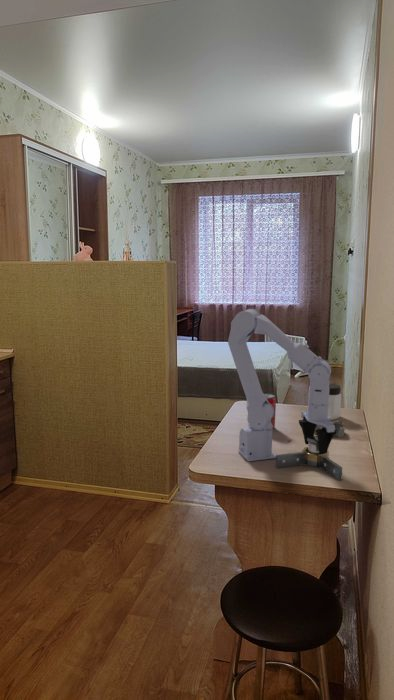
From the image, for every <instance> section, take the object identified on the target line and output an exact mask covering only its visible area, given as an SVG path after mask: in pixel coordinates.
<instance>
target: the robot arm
mask: <svg viewBox="0 0 394 700" xmlns="http://www.w3.org/2000/svg"><path fill="white" fill-rule="evenodd" d="M253 333H254V334H258V335H265V336H266V337H267V338H269V339H270V340H272V342H274V343H276V345H278V346H279V347H281V348H282V349H283V350H284V351H286V353H287V358H288V359H289V360H290V361H291V362H292V363H293V364H294V365H296V366H297V367H298V368H299V369H300V370H302V371H303V372H304V373H307V376H308V379H309V387H308V397H307V398H308V399H307V410H301V414H300V416H301V418H302V419H299V420H298V424H299V425H300V428H301V430H302V434H303V439H304V443H305V445H308V444H309V442H308V441H307V437H309V436H315V435H316V434H317V435H316V436H317V437H318V446H319V453H320V454H323V453H327V451H329V447H330V444H331V443H332V440H333V438H334V437H335V436H336V435H335V434H336V430H335V425H333V424H332V423H331V422H332V421H331V417H329V416H328V405H329V384H331V383H330V378H331V373H332V368H331V365H330V363H328V361H327V360H325V359H322V357H321V356H320V355H319V356H317V355H316V354H315V353H314V352H313V351H312V350H311V349H310V346H309V345H308V344H307V343H305V344H304V343H302V342H294V341H293V340H292V339H291V338H290V337H289V336H287V335H286V333H285V332H283V331H282V329H280V328H279V327H278V326H277V325H276V324H274V322H272V321H271V320H270V319H269V318H268V317H267V316H266V315H264V314H261V313H260V311H258V310H257V309H255V308H247V309H246V310H242V311H240V312H237V314H235V316H234V318H233V319H232V321H231V322H230V331H229V334H228V335H229V336H228V339H227V340H228V341H227V344H228V347H229V351H230V353H231V357H232V359H233V363H234V365H235V367H236V371H237V373H238V376H239V380H240V383H241V386H242V389H243V392H244V395H245V397H246V410H247V419H246V421H247V423H248V426H246V427H243V428H240V430H239V441H238V442H239V443H238V451H237V452H238V453H239V455H241V456H242V457H243V458H244V459H245V460H246V461H247V462H254V461H262V460H269V459H270V460H272V459H276V455H277V454H275V453H274V452H273V430H274V429H273V425H272V423H271V421H270V419H272V417H273V415H274V409H273V407H272V405H271V404H270V403H269V402H268V400H267V397H266V396H265V395H264V394H265V393H264V392H263V390H262V387H261V383H260V380H259V377H258V374H257V371H256V368H255V366H254V363H253V358H252V356H251V353H250V350H249V347H248V344H247V342H248V341H249V339H250V338H251V336H252V334H253ZM316 425H318V426H320V427H322V429H318V430H315V428H316ZM315 431H316V434H314V432H315Z"/></svg>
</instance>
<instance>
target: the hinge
mask: <svg viewBox="0 0 394 700" xmlns="http://www.w3.org/2000/svg"><path fill="white" fill-rule="evenodd" d="M275 455H276V458H275V468H276V469H283V468H290V467H299V466H307V467H310V468H316V469H319V468H320V469H322V470H323V471H324V472H326V473H327V474H329V475H330V476H331V477H333V478H334V479H335V480H337V481H342V478H343V467H342V466H341V465H339V464H338V463H337V462H335V461H333V460H332V459H330V458H329V455H330V451H329V450H327V453H323V454H320V455H316V454H310V453H308V446H306V447H303V448H302V450H301V451H299V452H290V453H282V454H281V453H280V454H275Z"/></svg>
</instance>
